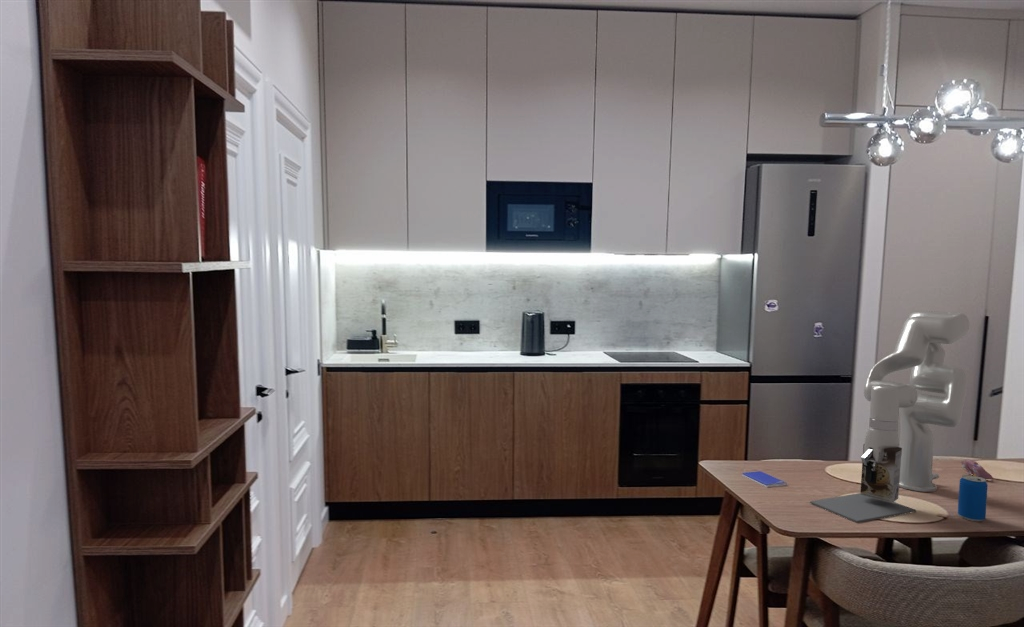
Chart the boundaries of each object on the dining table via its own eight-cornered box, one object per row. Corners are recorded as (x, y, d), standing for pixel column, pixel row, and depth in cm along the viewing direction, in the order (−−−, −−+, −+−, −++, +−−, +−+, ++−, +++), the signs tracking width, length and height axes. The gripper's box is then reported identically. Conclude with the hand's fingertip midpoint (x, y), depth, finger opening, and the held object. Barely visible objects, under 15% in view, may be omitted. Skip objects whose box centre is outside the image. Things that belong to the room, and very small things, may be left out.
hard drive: (786, 482, 203) (761, 470, 215) (766, 484, 200) (742, 472, 212) (786, 486, 203) (761, 475, 215) (766, 488, 200) (741, 477, 212)
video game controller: (964, 476, 221) (956, 459, 221) (977, 471, 220) (969, 454, 220) (982, 485, 211) (973, 467, 211) (995, 480, 211) (986, 462, 211)
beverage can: (990, 523, 173) (992, 482, 173) (965, 521, 174) (967, 480, 174) (977, 514, 180) (979, 475, 179) (953, 513, 181) (955, 473, 180)
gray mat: (866, 493, 196) (866, 492, 196) (915, 511, 181) (915, 509, 181) (809, 503, 186) (809, 501, 186) (856, 522, 172) (856, 520, 172)
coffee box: (859, 494, 188) (862, 443, 187) (866, 490, 192) (869, 440, 191) (892, 503, 181) (895, 450, 180) (899, 498, 185) (902, 446, 184)
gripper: (891, 420, 192) (888, 474, 193) (852, 424, 185) (849, 480, 186) (914, 425, 185) (911, 482, 186) (875, 429, 178) (871, 488, 179)
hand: (880, 480), depth 186 cm, fingers closed on coffee box, 7 cm apart
